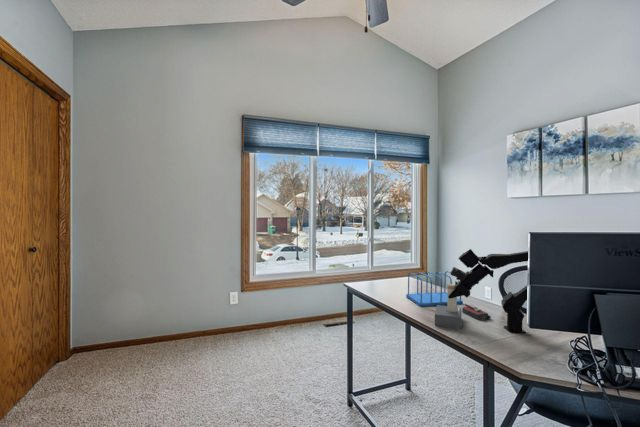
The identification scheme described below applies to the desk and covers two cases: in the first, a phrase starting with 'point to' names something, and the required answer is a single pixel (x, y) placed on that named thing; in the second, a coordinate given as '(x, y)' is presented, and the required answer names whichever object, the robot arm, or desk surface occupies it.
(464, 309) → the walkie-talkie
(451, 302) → the strip
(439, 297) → the file sorter
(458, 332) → the desk surface
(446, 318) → the block
